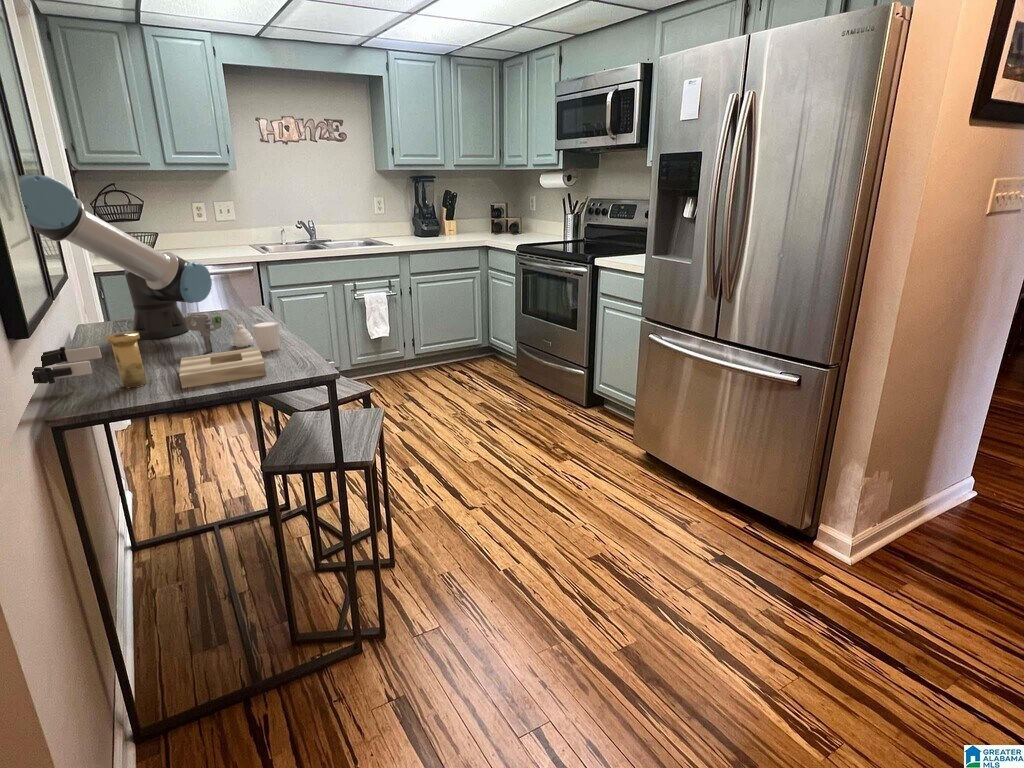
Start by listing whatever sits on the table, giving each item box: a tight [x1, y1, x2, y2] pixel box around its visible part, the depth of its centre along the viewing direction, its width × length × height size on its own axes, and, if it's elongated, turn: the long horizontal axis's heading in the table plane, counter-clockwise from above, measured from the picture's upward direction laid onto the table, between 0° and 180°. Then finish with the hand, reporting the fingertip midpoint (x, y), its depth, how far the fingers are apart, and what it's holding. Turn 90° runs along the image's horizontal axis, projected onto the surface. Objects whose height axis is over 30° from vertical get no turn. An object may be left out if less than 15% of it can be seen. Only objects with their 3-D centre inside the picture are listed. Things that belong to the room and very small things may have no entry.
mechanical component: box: [184, 314, 222, 353], centre depth 162 cm, size 3×10×10 cm, turn 79°
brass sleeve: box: [105, 330, 148, 389], centre depth 137 cm, size 6×6×12 cm
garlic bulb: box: [231, 324, 254, 348], centre depth 169 cm, size 6×6×5 cm
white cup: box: [251, 321, 281, 352], centre depth 164 cm, size 7×7×7 cm
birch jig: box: [178, 346, 267, 389], centre depth 145 cm, size 16×18×3 cm
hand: (95, 359), depth 134 cm, fingers open, 13 cm apart
